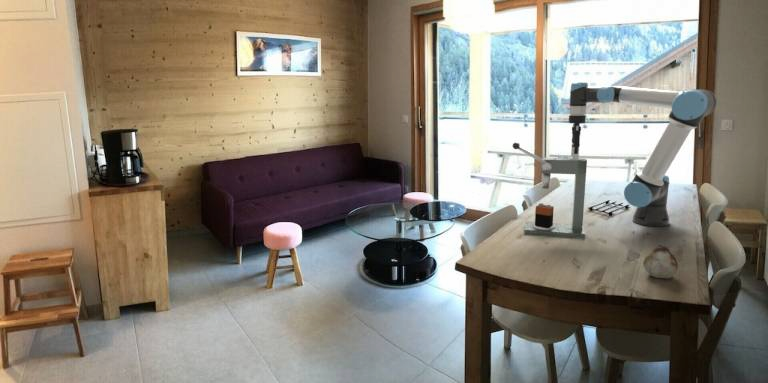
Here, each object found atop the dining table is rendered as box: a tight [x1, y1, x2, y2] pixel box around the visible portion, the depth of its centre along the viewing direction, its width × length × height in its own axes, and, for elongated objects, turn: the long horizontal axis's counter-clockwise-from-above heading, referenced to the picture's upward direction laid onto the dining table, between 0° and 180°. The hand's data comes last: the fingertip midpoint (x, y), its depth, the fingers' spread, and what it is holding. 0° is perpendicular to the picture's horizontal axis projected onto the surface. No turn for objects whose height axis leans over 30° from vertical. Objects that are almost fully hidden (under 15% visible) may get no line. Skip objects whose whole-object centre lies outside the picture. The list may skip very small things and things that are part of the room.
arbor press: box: [512, 141, 588, 239], centre depth 216 cm, size 32×14×40 cm, turn 72°
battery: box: [534, 202, 554, 228], centre depth 219 cm, size 4×7×10 cm, turn 49°
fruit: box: [643, 244, 679, 279], centre depth 166 cm, size 10×9×12 cm
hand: (574, 158), depth 240 cm, fingers open, 13 cm apart
